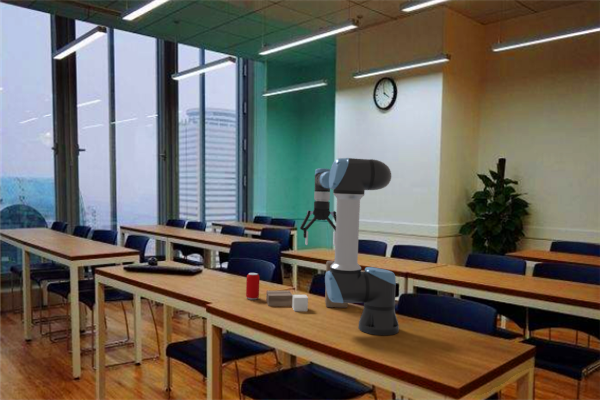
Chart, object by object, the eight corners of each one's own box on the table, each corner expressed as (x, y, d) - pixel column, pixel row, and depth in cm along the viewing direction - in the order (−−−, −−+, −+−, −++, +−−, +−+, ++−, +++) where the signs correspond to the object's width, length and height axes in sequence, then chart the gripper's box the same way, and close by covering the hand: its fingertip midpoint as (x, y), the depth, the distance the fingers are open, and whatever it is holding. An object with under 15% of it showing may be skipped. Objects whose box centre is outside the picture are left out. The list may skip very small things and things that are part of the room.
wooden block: (347, 308, 206) (349, 264, 206) (325, 307, 206) (327, 263, 206) (346, 303, 216) (347, 261, 216) (324, 302, 216) (326, 260, 216)
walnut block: (292, 306, 208) (292, 295, 208) (268, 306, 206) (268, 295, 206) (289, 300, 219) (289, 290, 219) (266, 301, 217) (266, 290, 217)
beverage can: (254, 300, 215) (255, 275, 215) (243, 298, 218) (244, 273, 218) (261, 298, 221) (262, 273, 221) (250, 296, 224) (251, 272, 224)
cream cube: (307, 311, 199) (308, 297, 199) (293, 311, 198) (294, 297, 198) (305, 307, 205) (305, 294, 205) (292, 308, 204) (292, 294, 204)
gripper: (345, 201, 225) (344, 244, 225) (295, 199, 221) (293, 243, 221) (349, 201, 217) (347, 246, 217) (297, 200, 214) (295, 245, 214)
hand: (320, 245), depth 219 cm, fingers open, 13 cm apart
